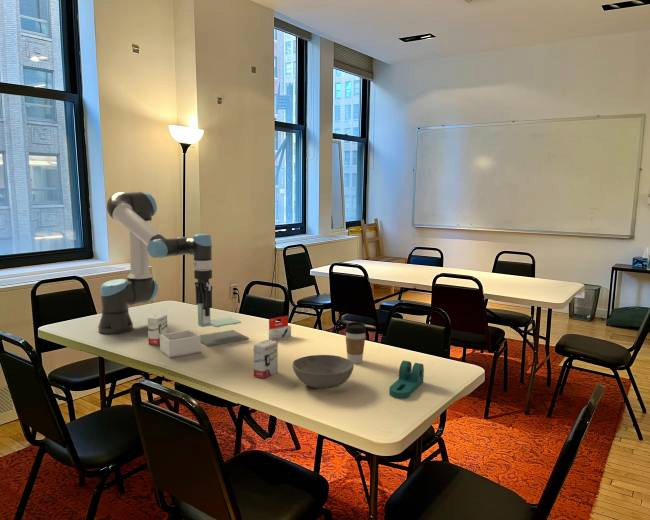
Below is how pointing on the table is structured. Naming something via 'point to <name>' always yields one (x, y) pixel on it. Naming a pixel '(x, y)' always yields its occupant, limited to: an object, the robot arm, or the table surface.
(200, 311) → the lid
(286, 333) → the ink box
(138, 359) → the table surface
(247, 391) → the table surface
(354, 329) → the coffee cup
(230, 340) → the mat
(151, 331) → the ink box
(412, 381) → the bracket
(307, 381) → the bowl
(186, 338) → the tub
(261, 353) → the ink box
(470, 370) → the table surface
